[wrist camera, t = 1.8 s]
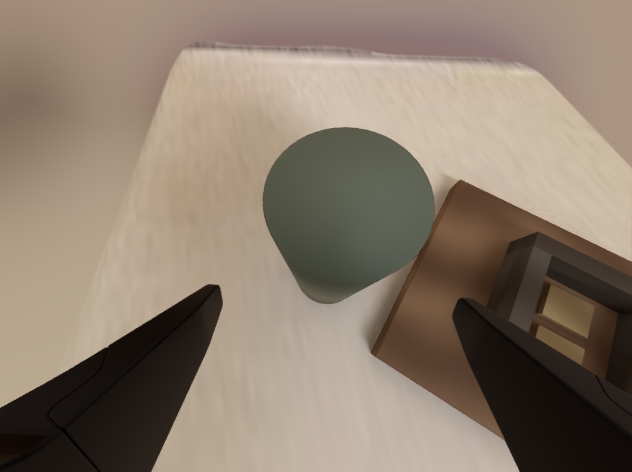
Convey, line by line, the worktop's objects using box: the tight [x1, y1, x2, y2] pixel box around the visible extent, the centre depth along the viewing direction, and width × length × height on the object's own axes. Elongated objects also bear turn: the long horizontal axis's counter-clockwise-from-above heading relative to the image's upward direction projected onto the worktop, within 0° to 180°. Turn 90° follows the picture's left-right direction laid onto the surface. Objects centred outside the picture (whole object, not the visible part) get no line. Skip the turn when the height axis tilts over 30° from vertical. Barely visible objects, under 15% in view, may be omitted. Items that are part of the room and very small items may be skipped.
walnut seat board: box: [371, 180, 632, 440], centre depth 16 cm, size 16×20×4 cm
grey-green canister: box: [263, 127, 435, 304], centre depth 13 cm, size 5×5×13 cm
